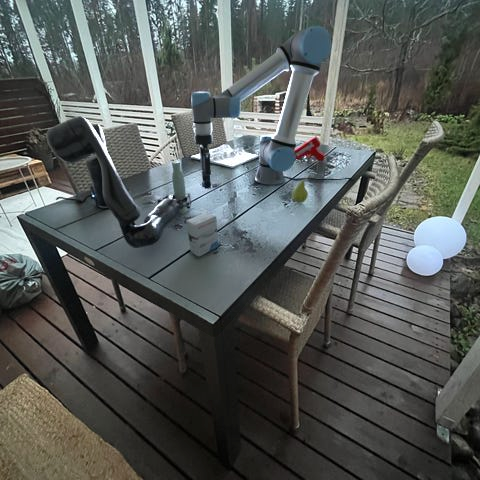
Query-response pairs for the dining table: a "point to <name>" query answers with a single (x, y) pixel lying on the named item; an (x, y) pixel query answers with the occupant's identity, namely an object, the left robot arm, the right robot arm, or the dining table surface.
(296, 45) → the right robot arm
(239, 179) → the dining table surface
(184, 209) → the bottle
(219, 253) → the dining table surface
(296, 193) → the fruit
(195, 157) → the relief map
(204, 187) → the cap
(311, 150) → the toy gun
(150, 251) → the dining table surface
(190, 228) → the ink box
